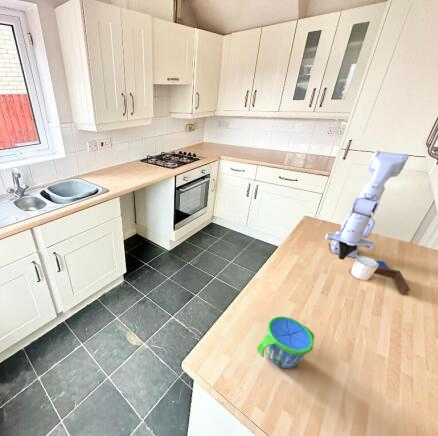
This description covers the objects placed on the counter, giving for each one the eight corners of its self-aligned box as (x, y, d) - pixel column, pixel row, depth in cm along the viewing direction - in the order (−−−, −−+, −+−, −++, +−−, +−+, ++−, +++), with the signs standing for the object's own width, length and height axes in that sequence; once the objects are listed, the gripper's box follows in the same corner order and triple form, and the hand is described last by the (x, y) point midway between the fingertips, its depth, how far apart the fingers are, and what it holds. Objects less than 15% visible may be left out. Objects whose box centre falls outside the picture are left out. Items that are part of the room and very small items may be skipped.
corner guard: (378, 288, 90) (382, 282, 88) (371, 270, 98) (374, 265, 97) (405, 295, 87) (410, 289, 85) (396, 276, 95) (399, 270, 93)
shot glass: (363, 269, 99) (370, 256, 95) (375, 281, 93) (383, 267, 89) (345, 268, 99) (352, 255, 96) (356, 280, 93) (364, 266, 90)
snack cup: (264, 378, 63) (273, 355, 58) (245, 341, 72) (252, 318, 67) (320, 372, 64) (333, 348, 59) (295, 336, 73) (305, 313, 68)
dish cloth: (366, 269, 99) (367, 267, 99) (360, 259, 105) (360, 257, 104) (390, 273, 97) (391, 271, 96) (383, 263, 102) (383, 261, 102)
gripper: (332, 229, 90) (320, 258, 97) (382, 239, 84) (366, 269, 90) (330, 221, 95) (318, 249, 102) (377, 229, 89) (361, 258, 96)
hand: (340, 258), depth 97 cm, fingers closed
